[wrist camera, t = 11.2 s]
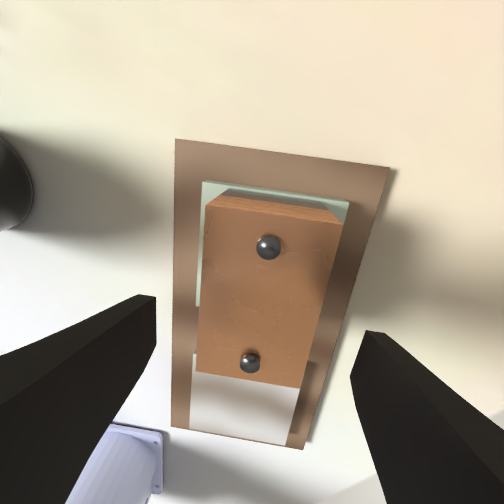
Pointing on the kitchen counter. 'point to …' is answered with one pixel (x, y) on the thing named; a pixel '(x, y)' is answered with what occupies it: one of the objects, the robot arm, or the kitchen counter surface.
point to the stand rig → (189, 281)
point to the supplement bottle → (13, 188)
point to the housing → (263, 284)
